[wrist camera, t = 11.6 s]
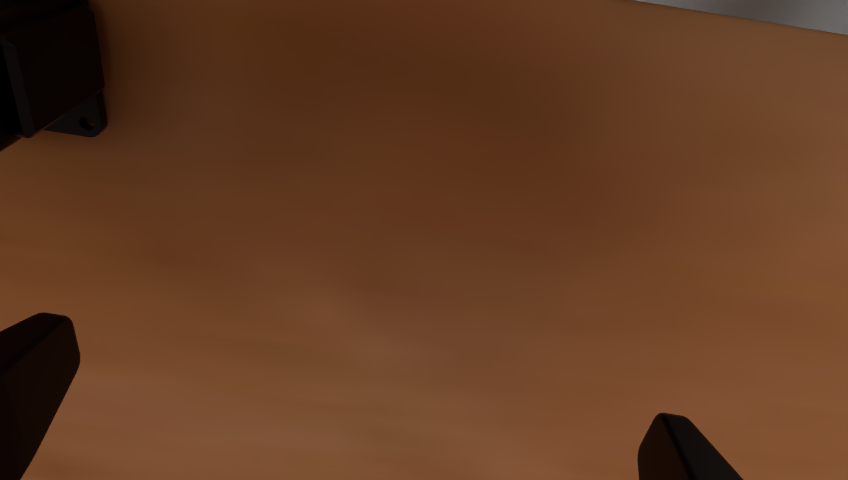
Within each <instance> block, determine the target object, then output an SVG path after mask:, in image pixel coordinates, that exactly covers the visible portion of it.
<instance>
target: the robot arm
mask: <svg viewBox="0 0 848 480" xmlns="http://www.w3.org/2000/svg"><path fill="white" fill-rule="evenodd" d="M104 86H105V83H104V77H103V70H102V64H101V57H100V51H99V44H98V38H97V31H96V25H95V19H94V13H93V12H92V10H91V9H90V8H89V5H88V0H0V152H1V151H2V150H4V149H5V148H7V147H9V146H10V145H12V144H13V143H15V142H16V141H18V140H19V139H21V138H22V137H24V138H31V137H33V136H35V135H36V134H37V133H39V132H40V131H42V130H47V131H54V132H60V133H67V134H73V135H79V136H86V137H95V136H97V135H99V134H100V133H101V132H102V131H104V130H105V128H106V127H107V119H106V113H105V106H104V100H103V94H102V89H103V88H104ZM85 117H88V118H90V119H91V120H92V121H93V123H94V126H92V125H90V124H89V123H88V122H87V121H86V119H85ZM79 364H80V352H79V347H78V343H77V339H76V334H75V330H74V326H73V322H72V320H71V319H70V318H69V317H67V316H64V315H57V314H51V313H38V314H36V315H33V316H31V317H29V318H27V319H25V320H23V321H21V322H19V323H17V324H15V325H13V326H11V327H9V328H7V329H5V330H3V331H0V480H20V479H21V478H22V476H23V474H24V473H25V471H26V469H27V468H28V466H29V465H30V463H31V461H32V459H33V458H34V456H35V454H36V452H37V450H38V448H39V446H40V444H41V442H42V440H43V438H44V436H45V434H46V432H47V430H48V428H49V426H50V424H51V422H52V420H53V418H54V416H55V414H56V412H57V410H58V408H59V406H60V404H61V402H62V400H63V398H64V396H65V394H66V392H67V390H68V388H69V386H70V385H71V383H72V381H73V379H74V377H75V375H76V372H77V370H78V367H79ZM638 471H639V480H743V479H742V478H741V477H740V475H739V474H738V473H737V472H736V471H735V470H734V469H733V468H732V466H731V465H730V464H729V463H728V462H727V461H726V460H725V459H724V458H723V456H722V455H721V454H720V453H719V452H718V451H717V450H716V449H715V448H714V446H713V445H712V444H711V443H710V442H709V441H708V440H707V439H706V438H705V436H704V435H703V434H702V433H701V432H700V431H699V430H698V429H697V427H696V426H695V425H694V424H693V423H692V422H691V421H690V420H689V419H688V418H686V417H684V416H680V415H674V414H668V413H659V414H658V415H656V417H655V418H654V420H653V422H652V424H651V425H650V427H649V429H648V431H647V433H646V435H645V437H644V439H643V441H642V443H641V445H640V447H639V451H638Z"/></svg>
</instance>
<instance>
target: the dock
mask: <svg viewBox="0 0 848 480" xmlns="http://www.w3.org/2000/svg"><path fill="white" fill-rule="evenodd" d="M635 1H641V2H648V3H654V4H660V5H666V6H672V7H678V8H685V9H691V10H697V11H703V12H709V13H716V14H722V15H728V16H734V17H740V18H746V19H753V20H759V21H765V22H771V23H777V24H784V25H790V26H796V27H802V28H808V29H814V30H821V31H827V32H833V33H839V34H845V35H848V0H635Z"/></svg>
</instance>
